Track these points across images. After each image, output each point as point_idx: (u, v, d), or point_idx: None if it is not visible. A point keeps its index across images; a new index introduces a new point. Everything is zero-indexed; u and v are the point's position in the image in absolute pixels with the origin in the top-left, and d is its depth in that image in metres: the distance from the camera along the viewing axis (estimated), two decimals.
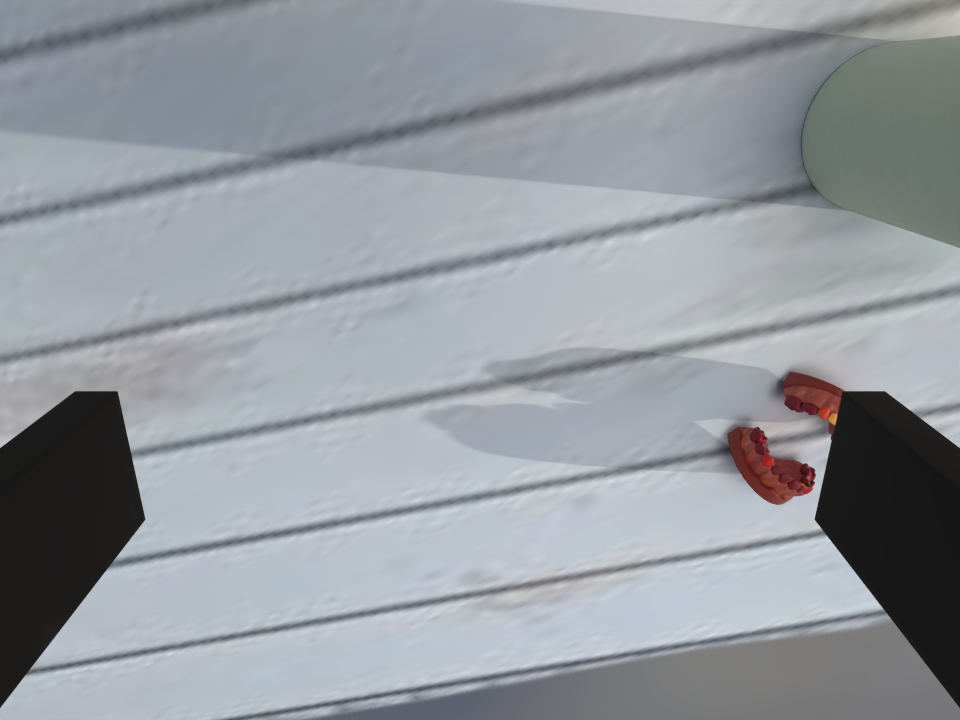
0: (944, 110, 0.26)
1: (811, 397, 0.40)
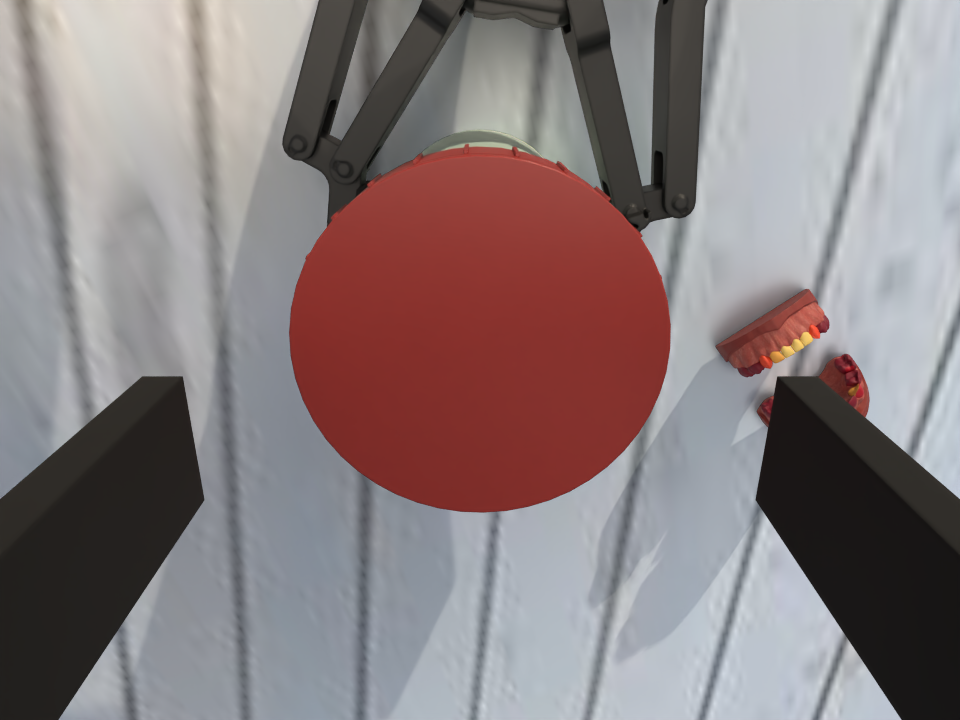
0: None
1: (744, 361, 0.35)
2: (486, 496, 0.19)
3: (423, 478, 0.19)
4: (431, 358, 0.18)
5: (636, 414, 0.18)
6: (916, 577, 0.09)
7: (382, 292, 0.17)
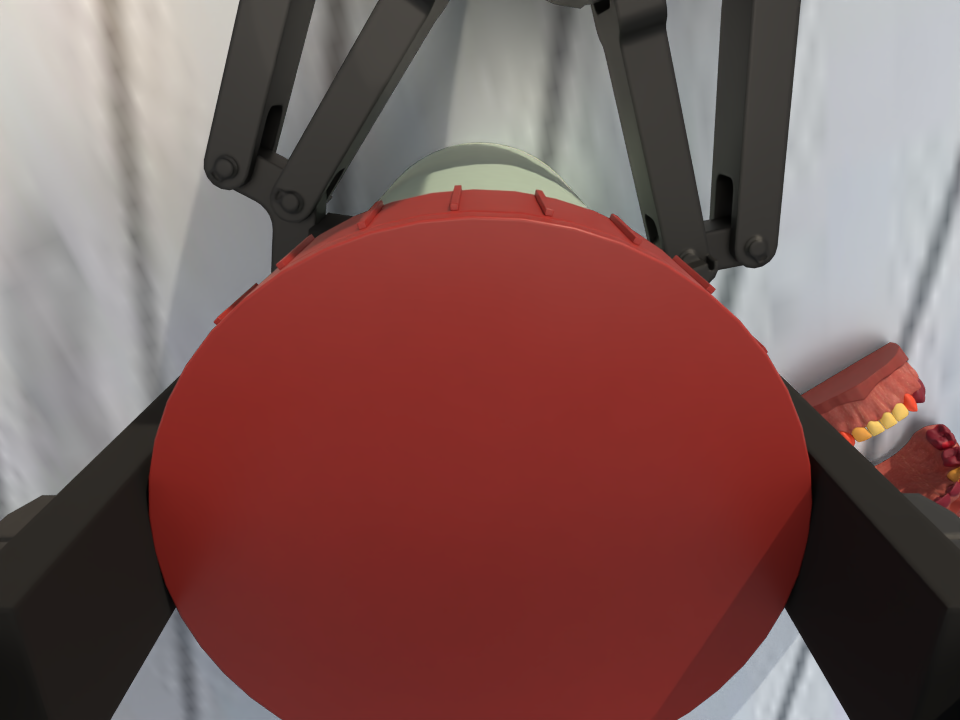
0: None
1: None
2: None
3: None
4: (396, 555, 0.10)
5: (743, 638, 0.11)
6: (846, 555, 0.09)
7: (307, 451, 0.10)
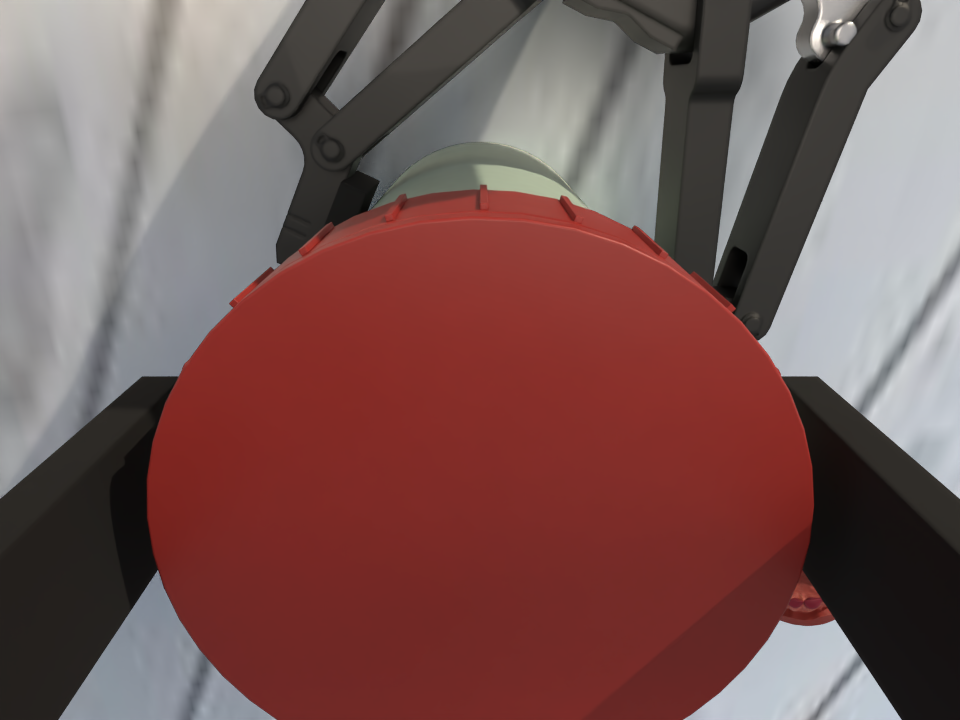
0: None
1: None
2: (740, 627, 0.11)
3: (654, 693, 0.11)
4: (458, 613, 0.11)
5: (727, 348, 0.09)
6: (916, 576, 0.09)
7: (327, 633, 0.11)
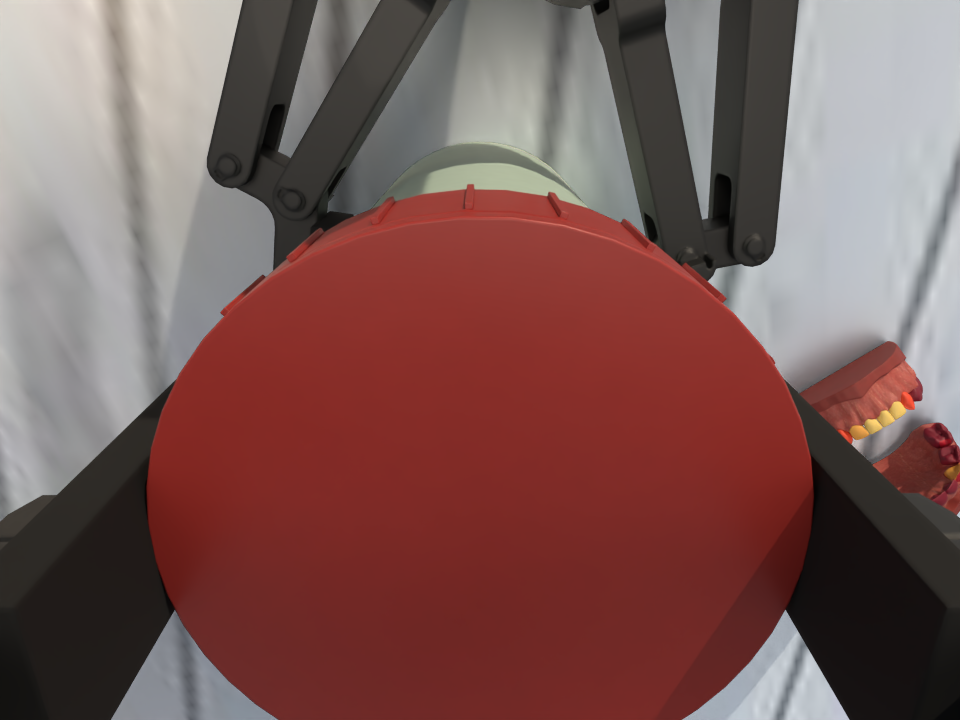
0: None
1: None
2: (769, 562, 0.10)
3: (704, 648, 0.11)
4: (482, 614, 0.11)
5: (652, 289, 0.09)
6: (846, 555, 0.09)
7: (365, 662, 0.11)
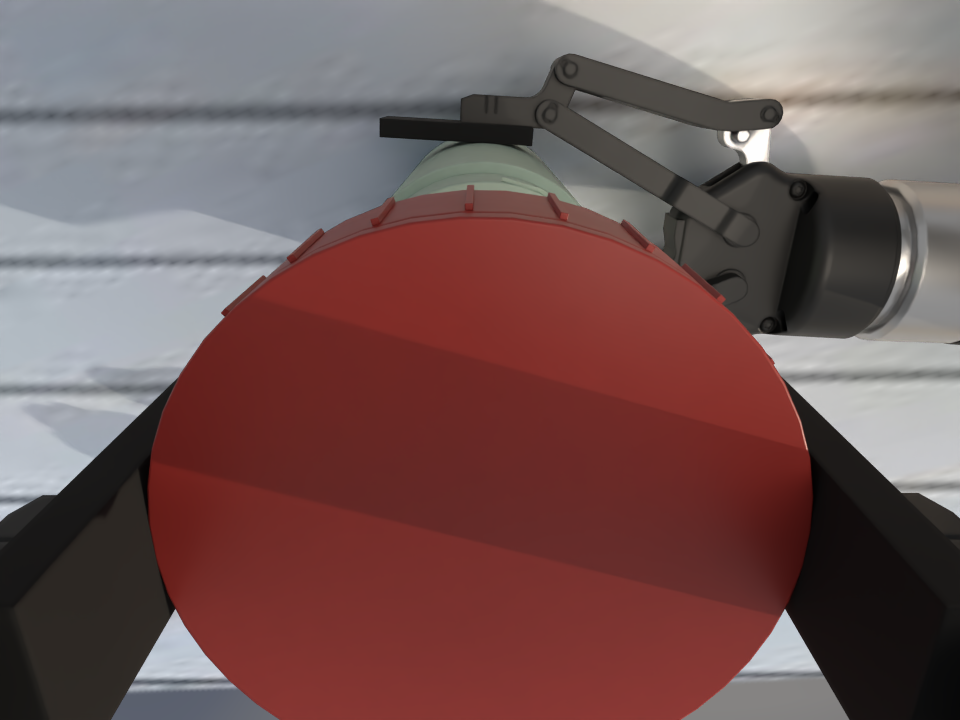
0: None
1: None
2: (768, 562, 0.10)
3: (704, 648, 0.11)
4: (482, 614, 0.11)
5: (652, 289, 0.09)
6: (846, 555, 0.09)
7: (365, 662, 0.11)
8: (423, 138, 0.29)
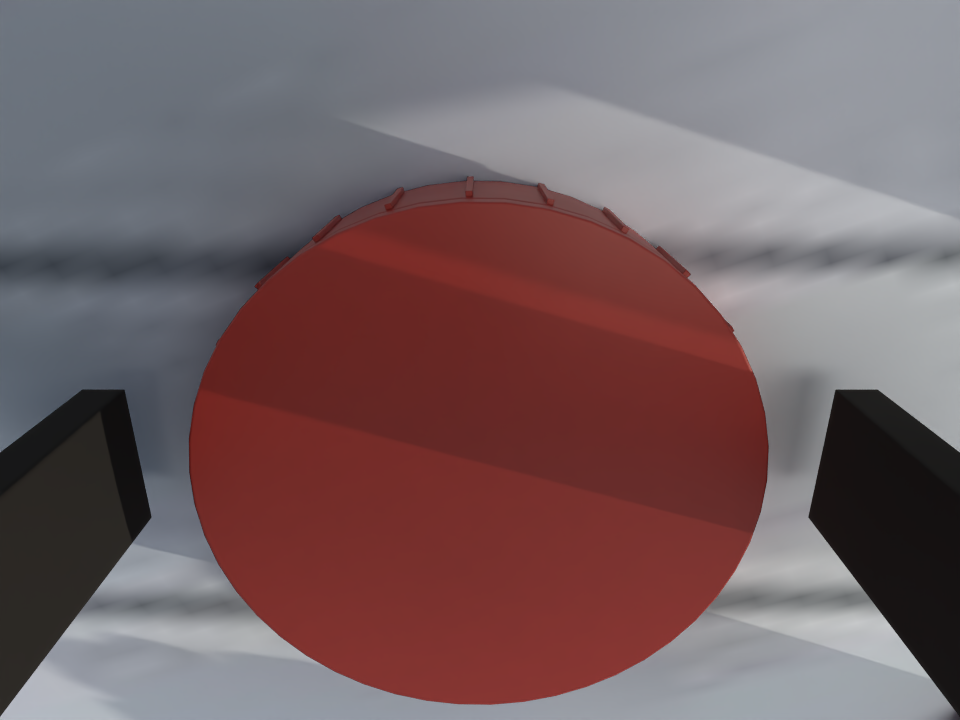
0: None
1: None
2: (731, 506, 0.12)
3: (676, 585, 0.12)
4: (480, 554, 0.12)
5: (625, 264, 0.10)
6: None
7: (378, 598, 0.12)
8: None
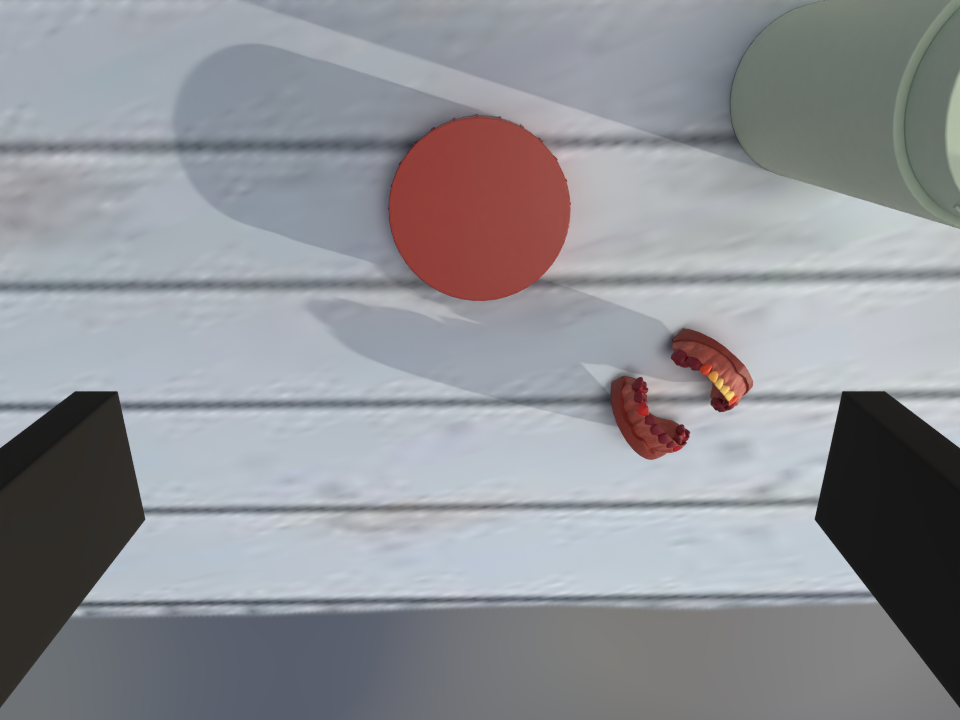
0: (857, 33, 0.26)
1: (697, 352, 0.40)
2: (559, 218, 0.37)
3: (544, 249, 0.38)
4: (480, 237, 0.37)
5: (521, 136, 0.35)
6: None
7: (446, 254, 0.38)
8: None
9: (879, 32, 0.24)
